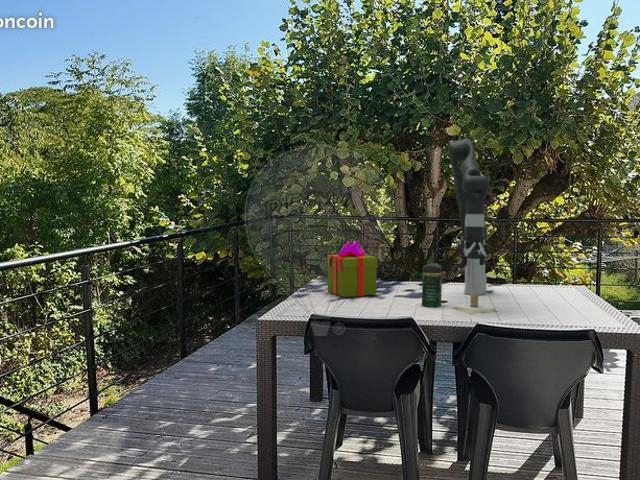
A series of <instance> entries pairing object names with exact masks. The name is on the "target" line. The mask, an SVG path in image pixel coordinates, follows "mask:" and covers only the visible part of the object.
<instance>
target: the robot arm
mask: <svg viewBox="0 0 640 480" xmlns="http://www.w3.org/2000/svg"><path fill="white" fill-rule="evenodd" d="M447 151H448V156H449V161H450V164H451V169H452V173H453V178H454V179H453V180H454V186H455V192H456V198H457V203H458V209H459V215H460V226H461V235H462V239H458V241H457V252H456V253H457V255H459V256H461V265H462V266H463V267H464V294H466V295H469V296H471V294H478V296H481V295H482V296H483V295H485V294H487V280H488V279H487V273H486V256H487V255H490V253H491V248H490V247H491V246H490V245H491V244H490V239H488V227H487V225H485V215H484V214H485V202H486V198H487V194H488V191H489V189H490V180H489V178H488V177H487V176H486V175H481V174H482V173H481V171H480V168H479V165H478V163H477V155H476V151H475V145H474V143H473V141H472V140H471V138H463V139H459V140H455V141H450V142H448V145H447ZM462 161H463V162H462ZM459 162H462V164H461V166H460V165H459Z"/></svg>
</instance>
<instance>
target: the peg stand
mask: <svg viewBox="0 0 640 480" xmlns="http://www.w3.org/2000/svg"><path fill="white" fill-rule="evenodd" d="M454 307H455V309H459V310H462V311H466V312H469V313H480V312H489V311H494V310H495V308H494V307H491V306H487V305H485V304H480V303H479V295H478V294H471V295H470V302H469V303H467V304H466V303H465V304H464V303H463V304H455V305H454Z"/></svg>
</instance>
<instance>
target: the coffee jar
mask: <svg viewBox="0 0 640 480" xmlns="http://www.w3.org/2000/svg"><path fill="white" fill-rule="evenodd" d="M442 278H443V266H442V265H440V264H439V263H437V262H436V263H435V262H430V263H428V264H425V265H423V266H422V279H421V280H422V281H421V282H422V283H421V284H422V292H421V306H422V307H424V308H435V309H437V308H439V307H441V306H442V290H443V289H442V284H443V281H442V280H443V279H442Z"/></svg>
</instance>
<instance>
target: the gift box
mask: <svg viewBox="0 0 640 480" xmlns="http://www.w3.org/2000/svg"><path fill="white" fill-rule="evenodd" d="M326 256H327V257H326V264H327V292H329V293H332V294H333V295H335V296H341V297H344V298H347V297H363V296H371V295H377V267H378V256H373V255H371V254H368V253H366V251H365V250H364V249H363V247H362V245H360V242H357V243H356V241H353V243H350V242H349V241H347V242H346V244H344V245H343V246H342V248H341V249H340V251H339V253H338V254H327V255H326Z"/></svg>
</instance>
